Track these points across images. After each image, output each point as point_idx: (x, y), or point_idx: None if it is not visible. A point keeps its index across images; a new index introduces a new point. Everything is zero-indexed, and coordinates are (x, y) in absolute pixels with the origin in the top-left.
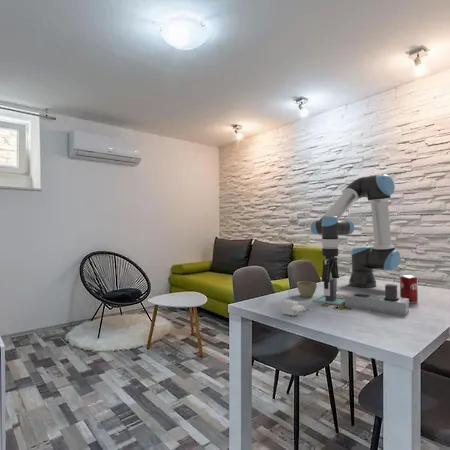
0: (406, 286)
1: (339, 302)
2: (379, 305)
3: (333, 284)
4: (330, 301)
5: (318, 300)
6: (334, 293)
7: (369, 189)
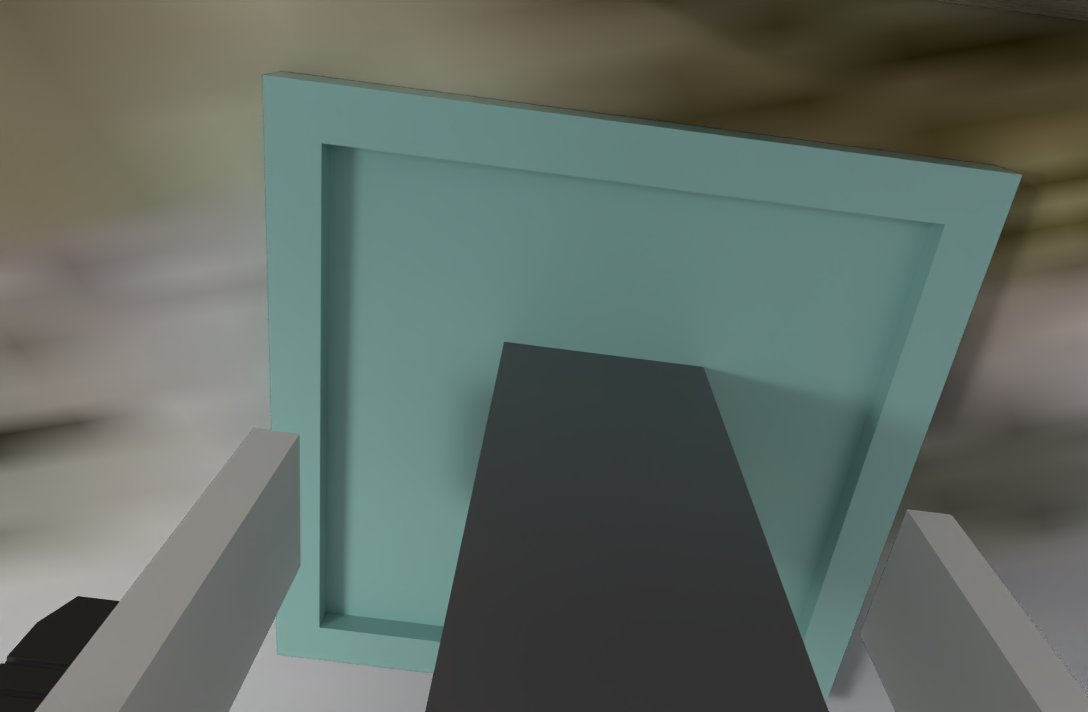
0: None
1: (755, 229)
2: None
3: (811, 695)
4: (730, 426)
5: (826, 636)
6: (652, 451)
7: None
